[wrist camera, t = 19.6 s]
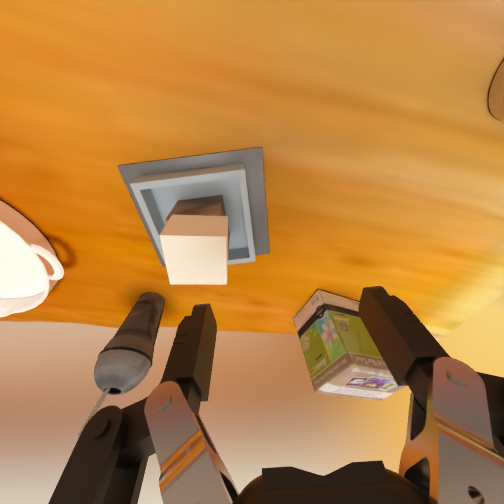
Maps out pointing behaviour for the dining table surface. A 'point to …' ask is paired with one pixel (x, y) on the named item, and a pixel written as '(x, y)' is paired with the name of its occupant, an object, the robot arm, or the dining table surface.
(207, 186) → the grey shallow box
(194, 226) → the cream block
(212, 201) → the walnut block
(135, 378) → the beverage cup
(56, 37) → the dining table surface
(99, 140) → the dining table surface
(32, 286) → the pan
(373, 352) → the tea box
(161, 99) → the dining table surface
